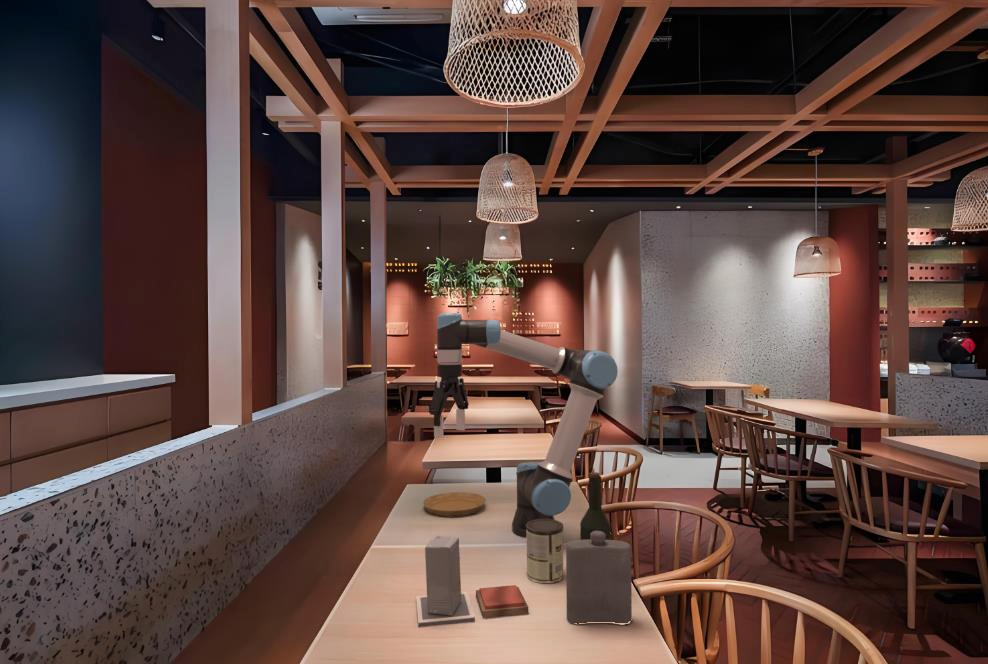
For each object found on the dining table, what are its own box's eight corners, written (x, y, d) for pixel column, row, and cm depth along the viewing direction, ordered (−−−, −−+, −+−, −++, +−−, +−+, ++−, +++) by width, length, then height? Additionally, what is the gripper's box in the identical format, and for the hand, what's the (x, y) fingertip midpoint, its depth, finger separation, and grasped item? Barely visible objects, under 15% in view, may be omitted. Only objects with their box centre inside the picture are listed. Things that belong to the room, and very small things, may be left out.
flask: (628, 613, 130) (627, 528, 130) (633, 626, 124) (633, 537, 124) (565, 612, 131) (564, 528, 131) (567, 625, 125) (566, 537, 125)
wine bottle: (605, 598, 137) (604, 479, 138) (574, 590, 142) (573, 474, 142) (616, 586, 144) (615, 472, 145) (587, 578, 149) (586, 468, 149)
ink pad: (518, 592, 141) (518, 583, 141) (528, 613, 130) (528, 603, 130) (475, 596, 139) (475, 587, 139) (482, 618, 128) (482, 608, 128)
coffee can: (531, 566, 157) (531, 516, 158) (567, 570, 154) (566, 520, 154) (521, 581, 148) (521, 528, 148) (559, 586, 144) (558, 532, 145)
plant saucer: (412, 516, 204) (412, 507, 204) (437, 497, 227) (437, 489, 227) (474, 521, 197) (474, 512, 197) (493, 502, 220) (493, 494, 220)
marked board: (467, 595, 140) (467, 591, 140) (474, 621, 127) (474, 617, 127) (416, 600, 137) (416, 596, 137) (418, 627, 124) (418, 622, 124)
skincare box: (452, 617, 127) (452, 548, 127) (423, 614, 129) (423, 546, 129) (462, 600, 135) (462, 535, 136) (435, 597, 137) (434, 533, 137)
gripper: (458, 361, 180) (458, 426, 180) (416, 365, 157) (417, 439, 157) (478, 362, 177) (479, 427, 177) (439, 365, 154) (440, 441, 154)
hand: (450, 433), depth 167 cm, fingers open, 13 cm apart
